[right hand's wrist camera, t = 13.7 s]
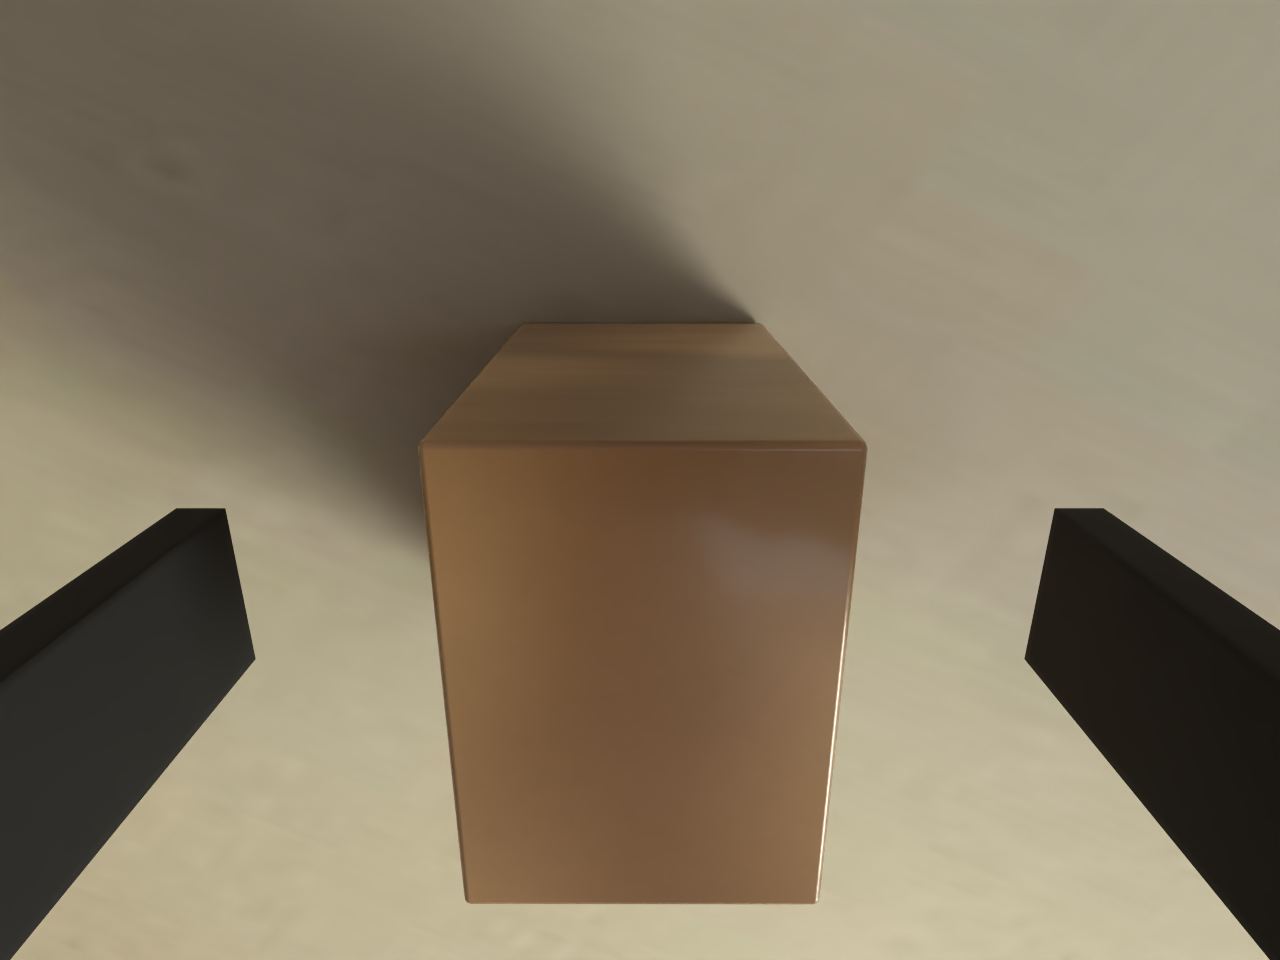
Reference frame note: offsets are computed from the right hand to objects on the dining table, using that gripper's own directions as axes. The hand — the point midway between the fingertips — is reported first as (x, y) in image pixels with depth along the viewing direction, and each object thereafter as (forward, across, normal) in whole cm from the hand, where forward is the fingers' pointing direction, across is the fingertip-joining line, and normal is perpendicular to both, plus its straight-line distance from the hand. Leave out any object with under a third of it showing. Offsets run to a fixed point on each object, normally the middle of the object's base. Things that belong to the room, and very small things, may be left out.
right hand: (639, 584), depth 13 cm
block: (+4, 0, 0) cm, 4 cm away
